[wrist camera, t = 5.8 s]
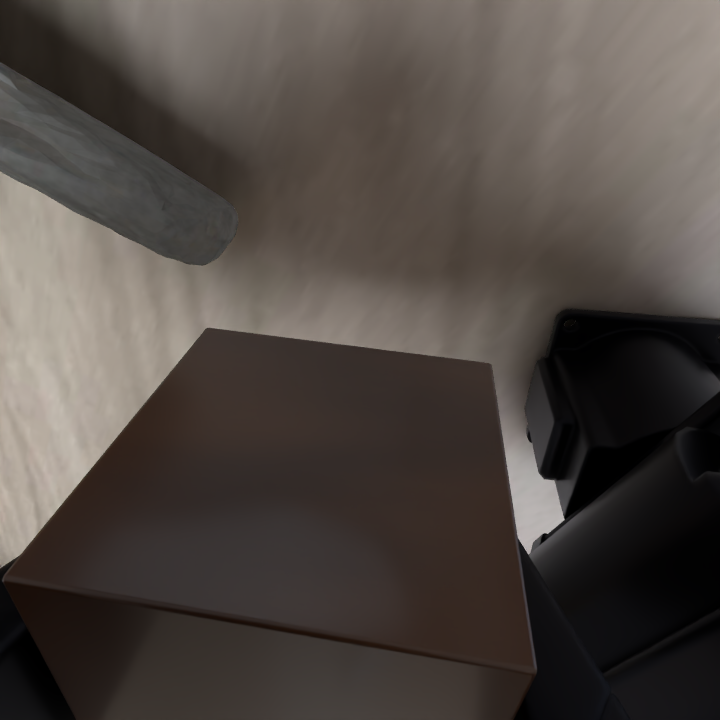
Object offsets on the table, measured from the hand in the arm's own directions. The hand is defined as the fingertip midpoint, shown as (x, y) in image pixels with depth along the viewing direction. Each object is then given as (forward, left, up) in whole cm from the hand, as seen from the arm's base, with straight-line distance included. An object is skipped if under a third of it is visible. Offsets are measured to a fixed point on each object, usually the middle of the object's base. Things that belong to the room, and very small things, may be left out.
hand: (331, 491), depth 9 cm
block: (0, 0, -1) cm, 1 cm away
